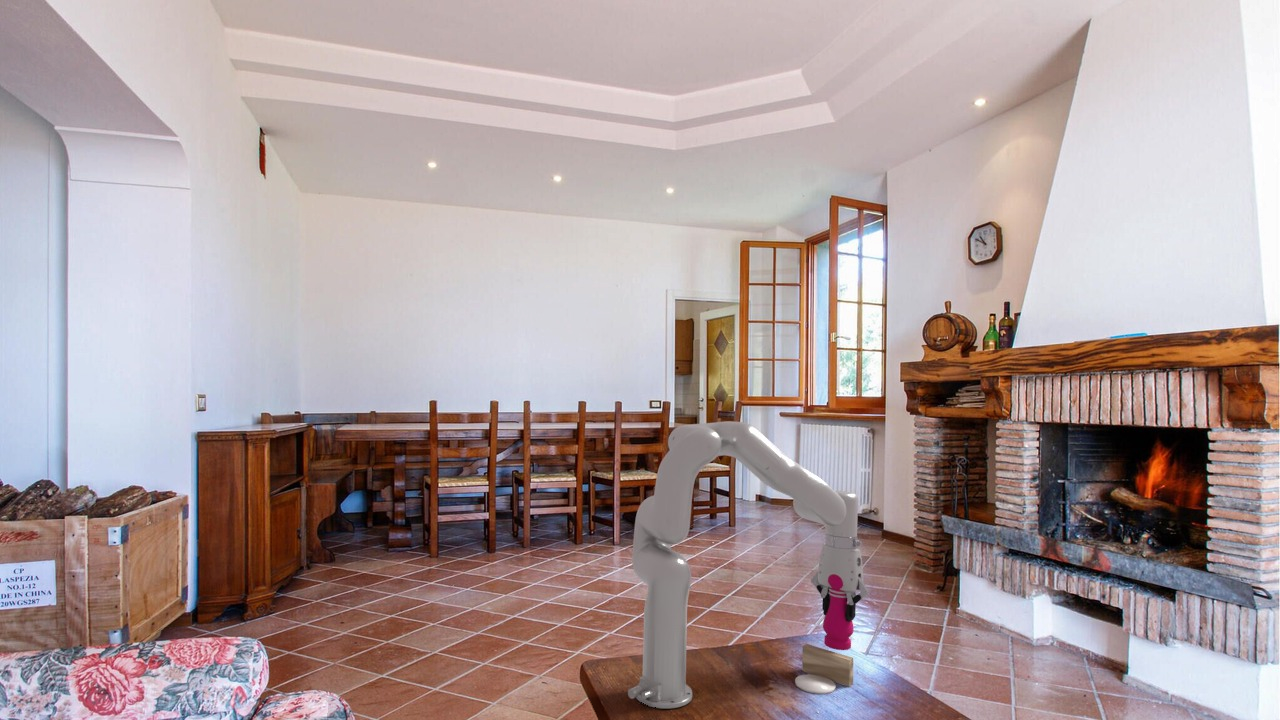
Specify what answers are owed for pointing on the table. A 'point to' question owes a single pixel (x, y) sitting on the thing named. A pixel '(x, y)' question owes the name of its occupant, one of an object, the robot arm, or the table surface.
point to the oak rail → (827, 664)
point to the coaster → (815, 684)
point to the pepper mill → (837, 617)
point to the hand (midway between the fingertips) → (838, 616)
